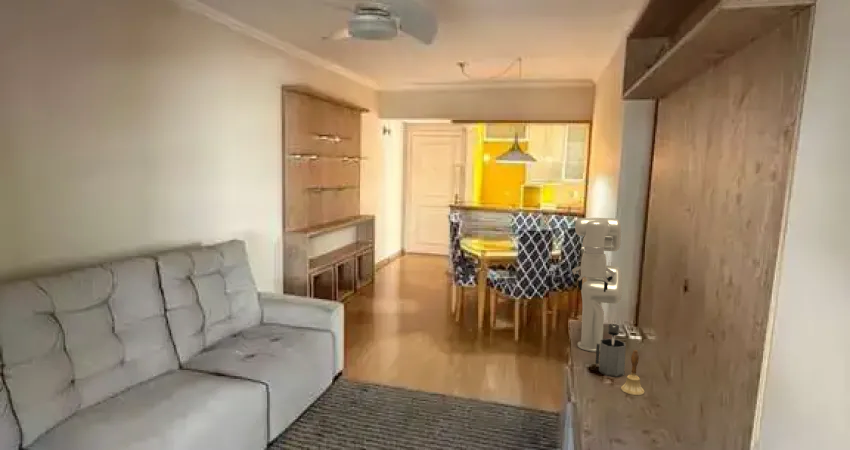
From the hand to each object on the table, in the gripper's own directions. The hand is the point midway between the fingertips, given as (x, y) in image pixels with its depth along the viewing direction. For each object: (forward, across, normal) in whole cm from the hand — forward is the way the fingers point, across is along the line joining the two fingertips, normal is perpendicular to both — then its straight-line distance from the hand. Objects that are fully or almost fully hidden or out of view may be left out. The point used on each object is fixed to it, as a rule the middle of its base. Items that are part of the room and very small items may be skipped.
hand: (592, 290), depth 210 cm
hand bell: (+33, +17, -21) cm, 42 cm away
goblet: (+29, +9, -6) cm, 31 cm away
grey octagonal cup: (+32, +9, -6) cm, 34 cm away
